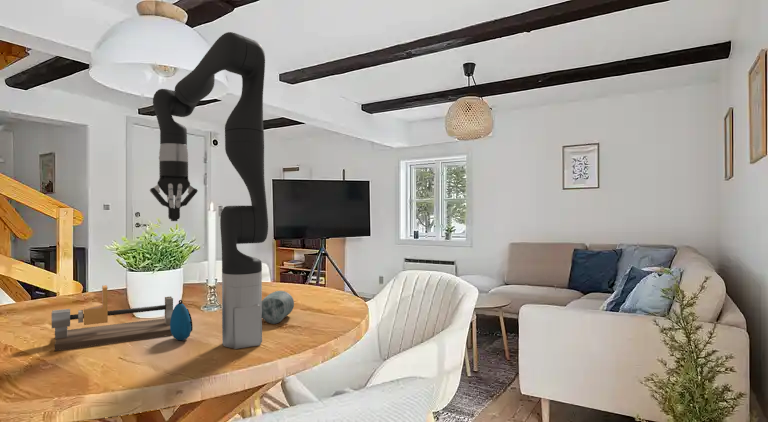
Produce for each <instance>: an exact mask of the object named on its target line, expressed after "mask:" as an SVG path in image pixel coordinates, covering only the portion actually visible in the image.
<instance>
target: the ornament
mask: <svg viewBox="0 0 768 422" xmlns="http://www.w3.org/2000/svg"><path fill="white" fill-rule="evenodd" d="M193 329H194V328H193V319H192V315H191V313H190V310H189V309H188V308H187V307H186V305H185V304H184V303H183V300H182V299H179V300H178V303H177V304H176V305H175V306H174V307H173V312H172V315H171V320H170V330H171V334H172V335H171V336H172V337H173V339H175V340H176V341H182V342H183V341H184V340H187V339H188V338H189V337H190V336H191V332H193Z"/></svg>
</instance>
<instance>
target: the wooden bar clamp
mask: <svg viewBox="0 0 768 422" xmlns="http://www.w3.org/2000/svg"><path fill="white" fill-rule="evenodd" d="M173 310H174V298H173V296H170V295H169V296H164V304H163V305H162V304H160V305H154V306H153V305H151V306H143V307H135V308H122V309H115V310H108V317H111V316H116V315H117V316H119V315H129V314H135V313H136V314H137V313H145V312H155V311H164V318H158V319H157V318H156V319H148V320H140V321H133V322H124V323H123V322H122V323H117V324H116V323H115V324H106V325H97V326H90V327H82V328H72V329H68V327H71V320H78V324H81V323H84V309H78V311H77V312H78V313H76V314H71V308H65V309H54V310H52V311H51V329H54V339H55V342H54V352H59V351H65V350H74V349H80V348H87V347H96V346H102V345H109V344H116V343H125V342H131V341H138V340H139V341H140V340H145V339H152V338H153V339H154V338H161V337H168V336H169V337H170V336H173V335H172V334H171V330H170V320H171V315H172V312H173Z"/></svg>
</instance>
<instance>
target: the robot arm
mask: <svg viewBox="0 0 768 422" xmlns="http://www.w3.org/2000/svg"><path fill="white" fill-rule="evenodd" d="M265 70H266V55H265V50H264V47H263V45H262V44H261V43H260V42H258V41H257V40H255V39H252V38H249V37H247V36H244V35H242V34H239V33H236V32H234V31H233V32H230V31H228V32H225V33H223V34H222V35H220V36H219V37H218V38H217V40H215V42H214V43H213V44H212V45H211V46H210V48H209V49H208V50H207V52H206V53H205V54H204V56H203V58H202V59H201V60H200V61H199V63H198V64H197V65H196V66H195V68H193V70H192V71H191V72H189V73H188V74H187V75H185V76H184V77H183V78H182V79H180V80H179V81H178V82H177V83H176V84H175V87H174V90H172V89H167V88H159V89H158V90H157V91H155V93H154V94H153V97H152V105H153V106H152V107H153V110H154V113H155V116H156V120H157V124H158V128H159V131H160V132H159V133H160V134H159V139H160V140H159V143H160V145H159V153H158V155H159V156H158V160H159V161H158V162H159V165H158V167H159V178H158V181H157V184H156V185H155V186H153V187H152V188H150V189H149V192H150V193H151V194H152V195H153V197H154V198H155V200H157V201H158V202H159V204H160V205H161V206H162V207H166V208H167V209H168V210H167V211H168V212H167V213H168V219H169V220H170V222H178V220H180V217H181V208H182V207H184V206H187V205H188V204H189V202H190V201H192V199H193V198H194V197H195V195H196V194H197V193H198V192H199V191H198V189H197V188H194V187H193V186H192V185H191V182H190V180H189V152H188V130H187V127H186V125H183V124H181V123H178V122H177V121H176V120H174V118H173V117H180V118H185V117H189V116H191V115H192V113H193V112H194V111H195V108H196V107H197V105H198V103H199V102H201V101H202V100H203V99H205V98H206V97H207V96H209V95H210V93H211V92H213V89H214V87H215V76H216V74H218V73H220V72H222V71H227V72H228V73H232V74H236V75H239V76H241V81H242V83H241V84H242V86H241V94H240V97H239V100H238V102H237V103H236V105H235V107H234V108H233V109H232V111H231V113H230V114H229V116H228V117H227V119H226V122H225V125H224V150H225V154H226V156H227V158H228V160H229V162H230V163H231V164H232V166H233V168H234V169H235V171H236V172H237V174H238V175H239V176H240V178H241V180H242V181H243V182H244V184H245V187H246V188H247V191H248V194H249V197H250V203H251V205H226V206H224V207H223V209H221V212H220V218H219V219H220V220H219V223H220V224H219V225H220V239H221V240H220V242H221V300H222V301H221V319H222V321H221V323H222V325H221V326H222V327H221V328H222V329H221V330H222V332H221V333H222V334H221V336H222V338H221V339H222V342H221V343H222V346H223V347H226V348H231V349H234V350H237V349H246V348H251V347H256V346H257V347H258V346H261V344H262V342H263V319H262V300H263V297H262V296H263V290H262V289H263V286H262V285H263V282H262V281H263V274H262V270H263V269H262V268H263V267H262V266H263V263H262V260H261V259H260V258H257V257H253V256H250V255H247V254H244V253H243V252H242V251H240V250H239V249H238V247H237V245H239V244H240V245H241V244H242V245H243V244H245V245H246V244H261V243H264V242H265V241H266V240H267V238H268V233H269V213H268V207H267V205H268V204H267V194H266V193H267V192H266V183H265V133H264V131H265V129H264V87H265V85H264V84H265V72H266V71H265ZM161 191H162V193H164V195H165V196H166V199H164V198H163V196H162V195H161ZM186 191H187V195H186V196H185V197H184V199H183V200H182V196H183V195H185V192H186ZM166 200H167V201H166Z"/></svg>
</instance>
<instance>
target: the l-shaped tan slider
mask: <svg viewBox="0 0 768 422" xmlns="http://www.w3.org/2000/svg"><path fill="white" fill-rule="evenodd" d="M101 289H102V293H101V295H102V303H101V304H100V305H91V306H83V314H84V318H83V326H89V325H90V326H91V325H98V324H106V323H108V322H109V321H108V319H109V316H108V311H109V310H108V307H109V306H108V305H109V303H108V285H107V284H106V285H104V284H103V285H102V287H101ZM108 324H109V323H108Z"/></svg>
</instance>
